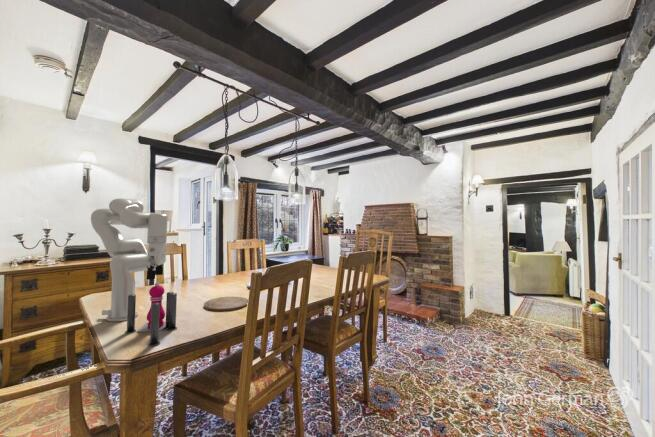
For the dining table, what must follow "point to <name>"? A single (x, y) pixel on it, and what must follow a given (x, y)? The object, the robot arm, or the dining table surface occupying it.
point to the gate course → (153, 317)
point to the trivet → (225, 304)
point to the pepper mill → (156, 297)
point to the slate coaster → (146, 329)
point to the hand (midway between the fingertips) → (155, 277)
